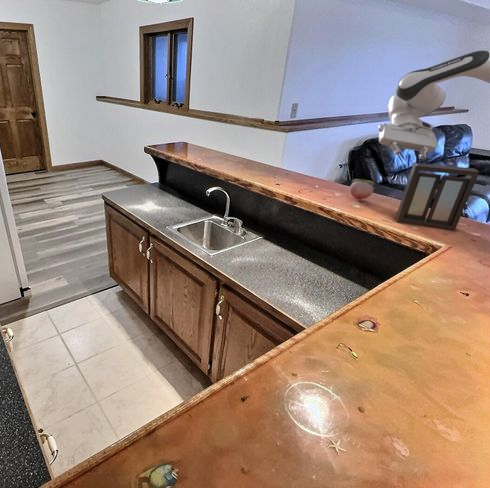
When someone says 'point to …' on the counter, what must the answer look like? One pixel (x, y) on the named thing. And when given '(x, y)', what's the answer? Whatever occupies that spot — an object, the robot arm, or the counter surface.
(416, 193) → the sash
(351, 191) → the decorative fruit
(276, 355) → the counter surface
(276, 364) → the counter surface
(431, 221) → the window frame
